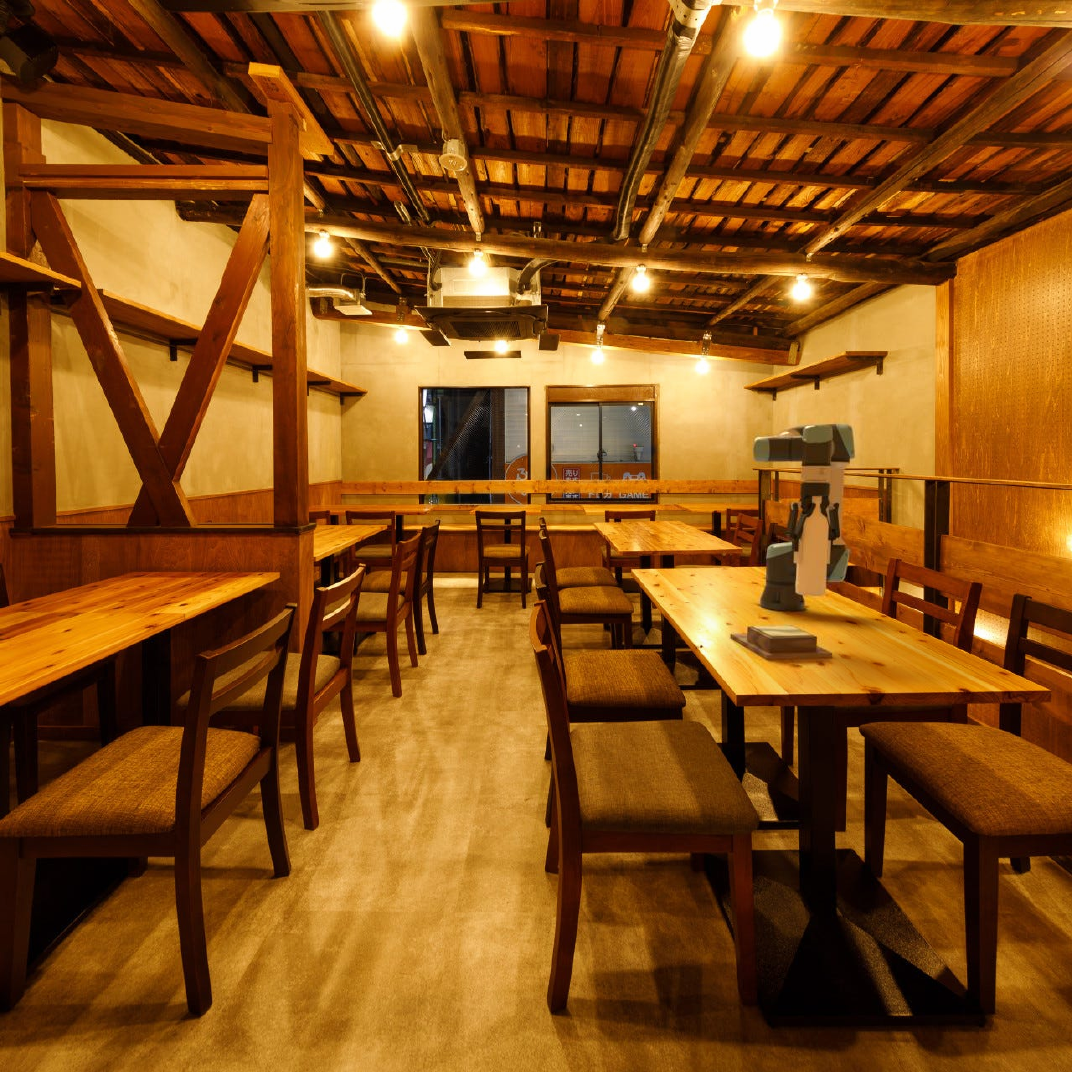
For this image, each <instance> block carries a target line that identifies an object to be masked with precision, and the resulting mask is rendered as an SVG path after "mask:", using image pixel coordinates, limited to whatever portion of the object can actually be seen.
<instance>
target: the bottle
mask: <svg viewBox="0 0 1072 1072" xmlns="http://www.w3.org/2000/svg"><path fill="white" fill-rule="evenodd" d="M821 502H822V496H812V503H815V504H816V507H815V509H814V510H813V512H812V515H811V516H810V517H808V518H806V520H805V522H804V528H803V533H802V535H801V537H800V539H799V540H801V541H802V563H801V564H797V572H796V593H797V594H800V595H803V596H808V597H822V596H825V595H826V591H827V581H826V570H827V550H828V529H829V525H828V521H827V518H826V517H825V516H824V515H823V514H822V513H821V508H820V504H821Z"/></svg>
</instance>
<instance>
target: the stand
mask: <svg viewBox="0 0 1072 1072" xmlns="http://www.w3.org/2000/svg"><path fill="white" fill-rule="evenodd" d="M746 631H747V632H746V633H744V632H743V633H730V637H729V638H730V639H731V640H733V641H734V642H736V643H738V644H740V645H741V646H742V647H744V648H746V649H748V650H750V651H751V652H753V653H755V654H756V655H758V656H760V657H761V658H763V659H765V660H767V661H768V660H769V661H771V660H772V661H773V660H797V659H799V660H800V659H801V660H803V659H826V658H833V652H831V651H829V650H827V649H825V648H823V647H821V646H819V645H818V636H816V635H814V634H812V633H810V632H808V631H805V630H803V629H800V628H799V627H796V626H794V625H792V624H784V625H783V624H781V625H780V624H779V625H752V626H750V625H748V626H747V630H746Z"/></svg>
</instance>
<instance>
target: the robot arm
mask: <svg viewBox="0 0 1072 1072" xmlns="http://www.w3.org/2000/svg"><path fill="white" fill-rule="evenodd" d="M752 452H753V453H752V455H753V459H754V460H755V462H758V463H759V462H761V463H762V462H763V463H772V462H773V463H775V462H777V463H778V462H779V463H782V462H783V463H785V462H787V463H788V462H790V463H791V462H794V463H795V462H796V463H797V462H798V463H799V462H800V463H801V470H800V481H802V482H801V483H800V492H799V494H800V499H799V500H798V501H796V502H790V503H789V505H788V506H789V516H788V519H787V520H788V521H787V526H786V531H785V537H786V538H788V539H790V540H791V542H790V541H789V542H781V543H779V542H778V543H773V544H770V545H769V546H768V547H767V549H766V551H767V552H766V557H765V559H766V561H765V562H766V563H765V564H766V567H765V585H764V587H763V591H762V593H761V596H760V598H759V606H760V607H761V608H764V609H769V610H774V611H783V612H797V611H798V612H799V611H803V610H805V609H806V608H805V607H806V601H805V598H804V595H800V594H797V593H796V572H797V564H801V563H802V541H801V540H799V539H800V537H801V535H802V533H803V528H804V522H805V520H806V518H808V517H810V516H811V515H812V512H813V510H814V509H815V507H816V504H815V503H812V496H822V502H821V504H820V508H821V513H822V514H823V515H824V516H825V517H826V518H827V521H828V525H829V529H828V550H827V570H826V582H828V583H830V582H831V583H832V582H833V583H834V582H835V583H840V582H843V581H844V580H845V577H846V573H847V569H848V564H849V559H850V558H849V557H850V553H851V550H850V549H849V548H846V545H847V544H846V542H845V541H844V540H843V539H842V528H843V527H842V525H843V508H844V507H843V506H844V504H843V503H844V490H845V489H844V487H845V486H844V484H845V469H846V468H847V467H848V466H849V465H850V464H851V460H852V459H855V458H856V454H855V439H854V431H853V427H852V426H851V425H850V424H846V423H845V424H843V423H832V424H810V425H809V424H806V425H798V426H794V427H793V426H792V427H790V428H787V429H784V430H781V431H779V432H778V433H777V434H776V435H773V436H759V437H756V438H755V439H754V442H753V448H752ZM800 509H801V512H799V510H800ZM799 513H800V514H799ZM798 518H799V519H798Z"/></svg>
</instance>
